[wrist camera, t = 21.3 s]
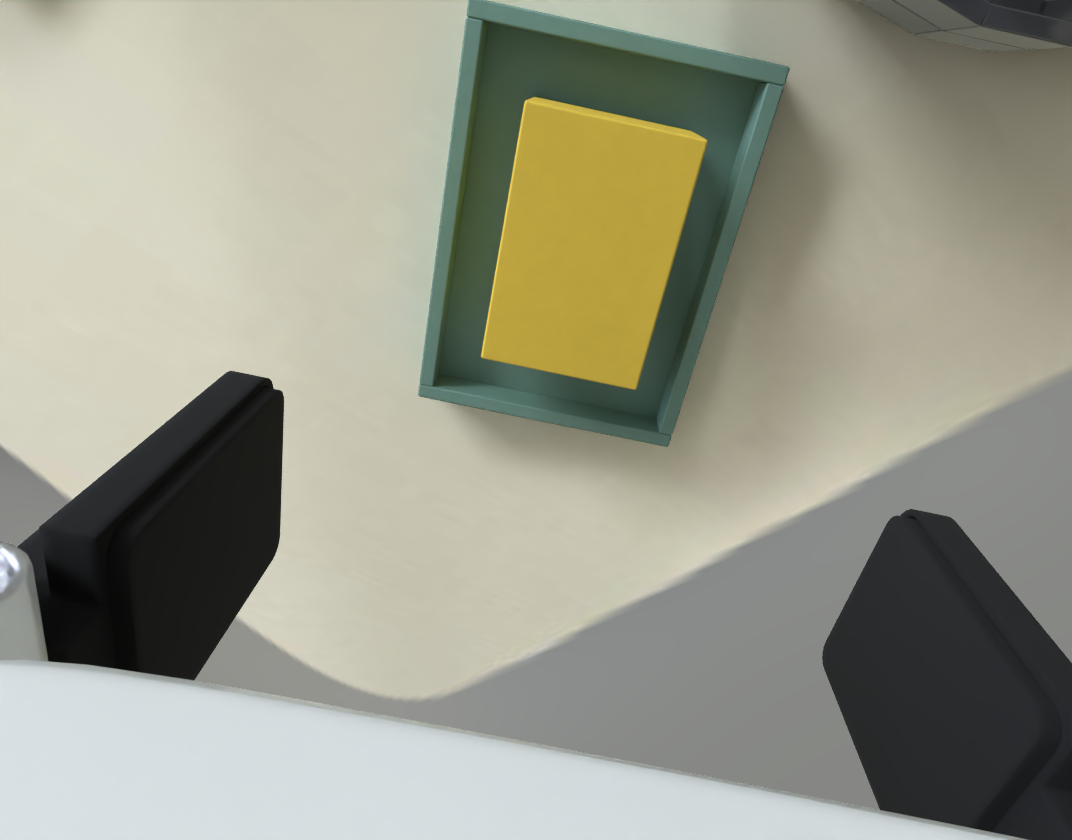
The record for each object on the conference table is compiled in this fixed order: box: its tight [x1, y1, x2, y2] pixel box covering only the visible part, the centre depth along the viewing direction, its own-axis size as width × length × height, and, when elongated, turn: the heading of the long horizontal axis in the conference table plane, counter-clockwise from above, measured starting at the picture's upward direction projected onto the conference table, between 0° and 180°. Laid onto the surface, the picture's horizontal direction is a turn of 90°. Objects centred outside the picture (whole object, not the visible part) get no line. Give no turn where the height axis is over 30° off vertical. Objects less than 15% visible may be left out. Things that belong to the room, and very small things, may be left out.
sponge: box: [481, 96, 707, 390], centre depth 26 cm, size 9×6×4 cm, turn 169°
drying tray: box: [418, 0, 790, 447], centre depth 28 cm, size 15×11×2 cm
